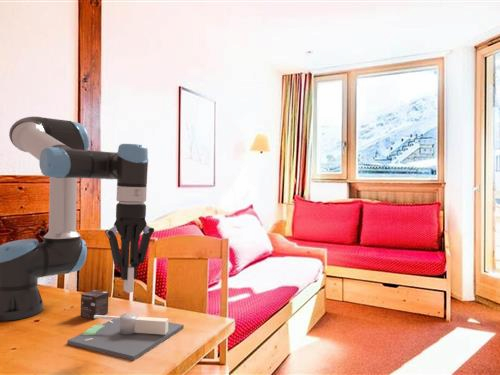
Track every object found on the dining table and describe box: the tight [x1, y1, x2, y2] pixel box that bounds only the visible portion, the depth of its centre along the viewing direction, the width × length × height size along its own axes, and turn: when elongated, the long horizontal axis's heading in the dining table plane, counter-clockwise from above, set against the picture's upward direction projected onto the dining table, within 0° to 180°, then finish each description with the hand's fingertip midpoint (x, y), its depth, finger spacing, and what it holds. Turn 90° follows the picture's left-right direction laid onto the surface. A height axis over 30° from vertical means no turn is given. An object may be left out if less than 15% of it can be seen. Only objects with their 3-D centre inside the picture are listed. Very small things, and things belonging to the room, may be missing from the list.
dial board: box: [67, 313, 185, 361], centre depth 103 cm, size 23×22×1 cm
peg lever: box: [94, 313, 169, 335], centre depth 102 cm, size 21×5×4 cm, turn 84°
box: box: [80, 289, 109, 320], centre depth 118 cm, size 6×6×7 cm
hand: (128, 290), depth 97 cm, fingers closed
